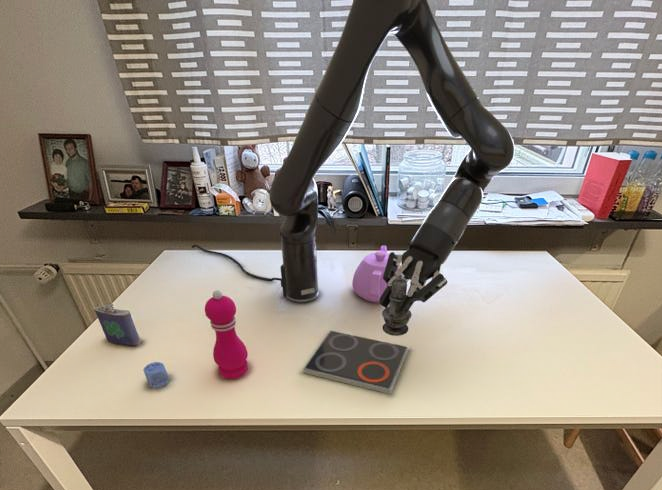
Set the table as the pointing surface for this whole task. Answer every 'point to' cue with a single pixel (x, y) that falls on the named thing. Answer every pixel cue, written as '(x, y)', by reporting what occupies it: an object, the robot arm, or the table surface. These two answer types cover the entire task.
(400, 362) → the hob
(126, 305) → the table surface
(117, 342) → the flask
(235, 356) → the pepper mill
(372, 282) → the teapot
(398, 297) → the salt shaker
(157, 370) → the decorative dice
